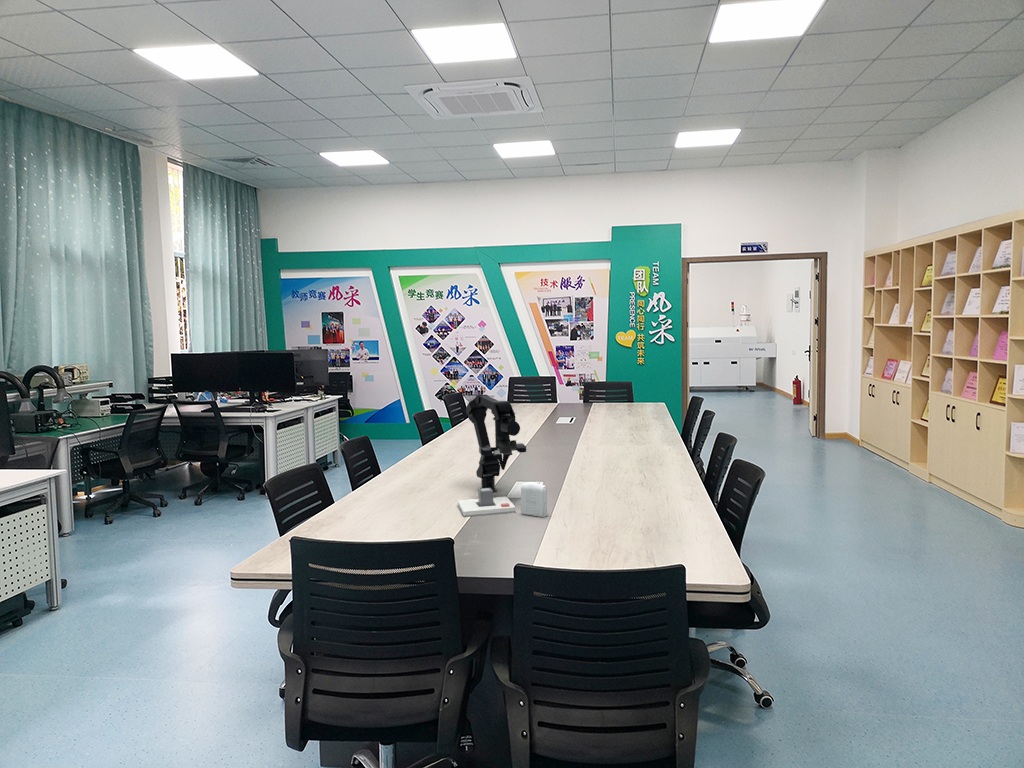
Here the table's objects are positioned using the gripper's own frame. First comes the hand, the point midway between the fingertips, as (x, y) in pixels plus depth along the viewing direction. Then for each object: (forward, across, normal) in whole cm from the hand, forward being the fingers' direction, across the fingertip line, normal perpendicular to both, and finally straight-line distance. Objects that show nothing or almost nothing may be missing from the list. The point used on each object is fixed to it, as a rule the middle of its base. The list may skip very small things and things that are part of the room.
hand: (503, 469), depth 274 cm
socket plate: (+12, -10, -13) cm, 20 cm away
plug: (+11, -10, -13) cm, 20 cm away
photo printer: (+12, +6, -26) cm, 29 cm away
